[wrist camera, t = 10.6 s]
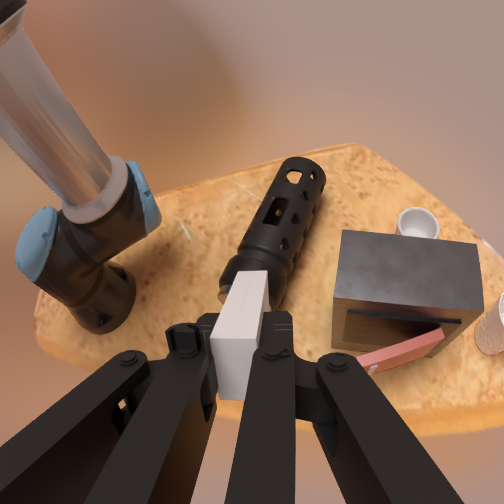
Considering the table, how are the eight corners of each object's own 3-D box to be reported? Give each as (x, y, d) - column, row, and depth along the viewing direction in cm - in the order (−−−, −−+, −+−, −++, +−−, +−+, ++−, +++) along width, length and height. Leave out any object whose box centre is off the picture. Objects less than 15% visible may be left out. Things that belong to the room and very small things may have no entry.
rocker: (352, 381, 33) (359, 369, 27) (350, 371, 34) (356, 356, 28) (424, 357, 32) (445, 339, 26) (421, 348, 33) (441, 327, 27)
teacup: (396, 221, 52) (400, 202, 47) (434, 232, 48) (441, 213, 44) (386, 266, 47) (391, 248, 43) (427, 278, 44) (436, 261, 40)
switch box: (330, 349, 42) (332, 299, 28) (339, 299, 46) (342, 229, 32) (432, 359, 37) (484, 314, 22) (434, 308, 41) (476, 244, 27)
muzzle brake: (329, 199, 58) (326, 158, 50) (278, 331, 46) (266, 304, 38) (284, 191, 62) (275, 152, 54) (225, 312, 50) (202, 284, 41)
